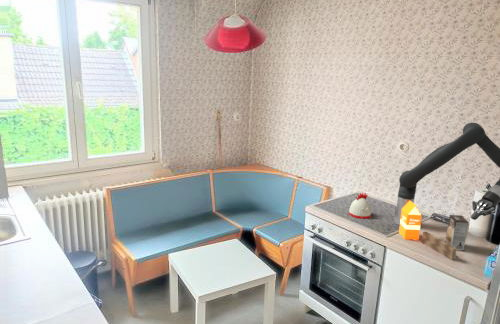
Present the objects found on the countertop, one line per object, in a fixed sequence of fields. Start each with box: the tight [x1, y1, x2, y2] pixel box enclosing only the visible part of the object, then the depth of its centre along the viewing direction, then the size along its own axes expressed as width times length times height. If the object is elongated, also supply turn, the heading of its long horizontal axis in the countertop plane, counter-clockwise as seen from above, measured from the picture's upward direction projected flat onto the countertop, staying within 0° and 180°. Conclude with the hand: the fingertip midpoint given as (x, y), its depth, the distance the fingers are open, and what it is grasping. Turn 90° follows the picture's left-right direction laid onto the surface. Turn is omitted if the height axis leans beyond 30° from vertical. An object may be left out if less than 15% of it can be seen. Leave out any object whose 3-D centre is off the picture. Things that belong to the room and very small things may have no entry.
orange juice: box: [398, 201, 422, 241], centre depth 192 cm, size 8×9×20 cm
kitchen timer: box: [348, 192, 372, 220], centre depth 223 cm, size 14×14×15 cm
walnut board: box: [421, 231, 457, 261], centre depth 177 cm, size 20×2×6 cm, turn 15°
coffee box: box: [445, 214, 469, 251], centre depth 181 cm, size 9×6×16 cm
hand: (472, 218), depth 182 cm, fingers closed
